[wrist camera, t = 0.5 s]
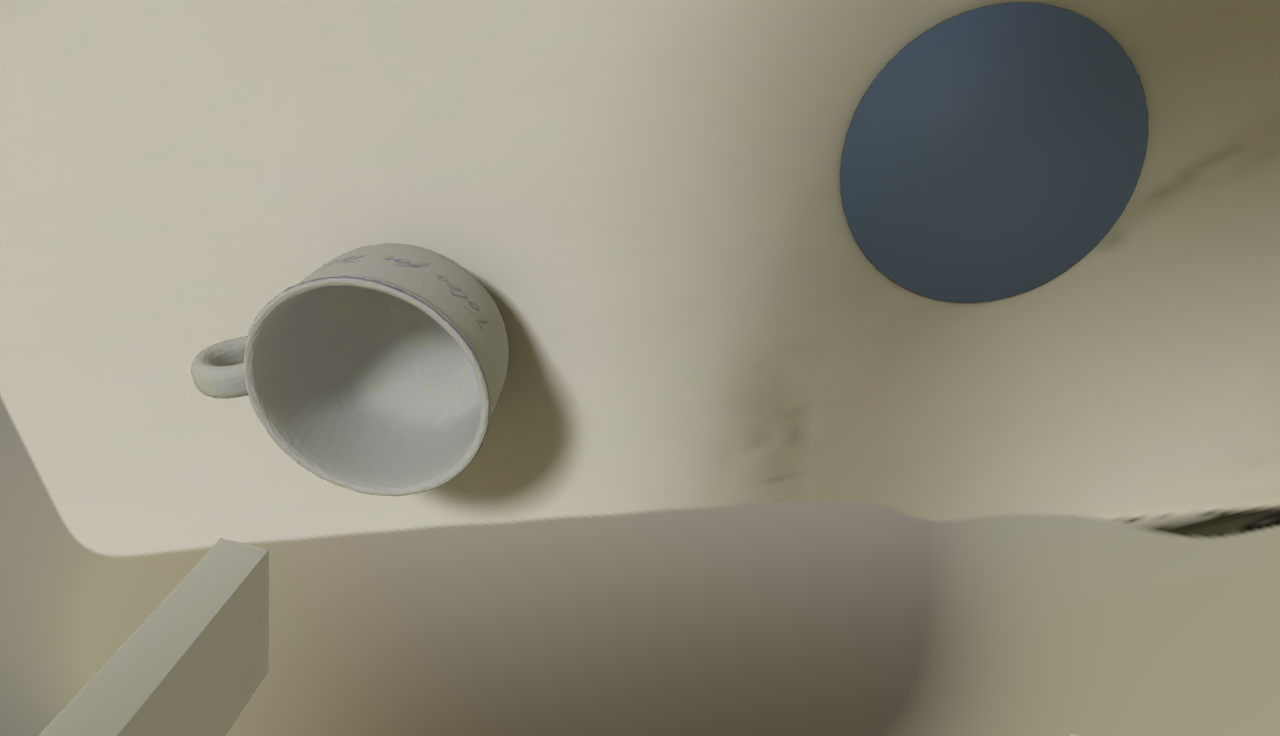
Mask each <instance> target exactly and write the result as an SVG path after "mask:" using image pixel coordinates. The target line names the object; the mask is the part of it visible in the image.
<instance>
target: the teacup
mask: <svg viewBox="0 0 1280 736" xmlns="http://www.w3.org/2000/svg"><path fill="white" fill-rule="evenodd" d="M508 359H509V347H508V338H507V332H506V328H505V325H504V322H503V319H502V317H501V314H500V312H499V310H498V308H497V305H496V304H495V302H494V300H493V299H492V298H491V296H490V295H489V293H488V292H487V291H486V289H485V288H484V287H483V286H482V285H481V283H480V282H479V281H478V280H477V279H476V278H475V277H474V276H473V275H472V274H471V273H469V272H468V271H467V270H466V269H464V268H463V267H461V266H460V265H458V264H457V263H455V262H454V261H452V260H451V259H449V258H447V257H445V256H443V255H441V254H438V253H436V252H433V251H431V250H428V249H425V248H421V247H417V246H412V245H405V244H377V245H370V246H365V247H361V248H358V249H355V250H352V251H349V252H347V253H345V254H342V255H340V256H339V257H337V258H335V259H333V260H331V261H329V262H328V263H326V264H325V265H323V266H322V267H320V268H319V269H317V270H316V271H314V272H313V273H312V274H310V275H309V276H308V277H306V278H305V279H304V280H302V281H301V282H300V283H298V284H297V285H295V286H292V287H290V288H287V289H286V290H285V291H283V292H282V293H281V294H279V295H278V296H277V297H275V298H274V299H273V300H271V301H270V302H269V303H268V304H267V305H266V306H265V307H264V308H263V309H262V310H261V311H260V313H259V314H258V316H257V317H256V318H255V320H254V323H253V324H252V326H251V327H250V330H249V333H248V336H246V337H240V338H235V339H231V340H226V341H223V342H220V343H218V344H215V345H212V346H210V347H208V348H206V349H205V350H203V351H201V352H200V353H199V354H198V355H197V356H196V357H195V359H194V360H193V362H192V366H191V374H192V377H193V380H194V383H195V385H196V387H197V388H198V390H199V391H200V392H202V393H203V394H205V395H207V396H210V397H214V398H235V397H242V396H246V395H249V398H250V401H251V404H252V406H253V408H254V410H255V412H256V414H257V416H258V418H259V419H260V421H261V423H262V424H263V425H264V426H265V428H266V430H267V432H268V433H269V435H270V436H271V437H272V439H273V440H274V441H275V442H276V444H277V445H278V446H279V447H280V448H281V449H282V450H283V451H284V452H285V453H286V454H287V455H288V456H290V457H291V458H292V459H293V460H295V461H296V462H297V463H298V464H300V465H301V466H303V467H304V468H305V469H307V470H309V471H310V472H312V473H314V474H315V475H317V476H318V477H320V478H322V479H325V480H327V481H329V482H331V483H333V484H336V485H338V486H341V487H344V488H347V489H351V490H354V491H357V492H360V493H365V494H371V495H382V496H403V495H410V494H417V493H421V492H425V491H427V490H430V489H433V488H436V487H438V486H441V485H442V484H444V483H446V482H448V481H450V480H451V479H453V478H454V477H455V476H457V475H458V474H460V473H461V472H462V471H463V470H464V469H465V468H466V467H467V466H468V465H469V464H470V463H471V461H472V460H473V459H474V457H475V456H476V454H477V452H478V451H479V449H480V447H481V446H482V443H483V440H484V438H485V435H486V432H487V430H488V425H489V421H490V418H491V416H492V414H493V412H494V409H495V407H496V404H497V402H498V399H499V397H500V394H501V392H502V389H503V386H504V382H505V379H506V374H507V369H508Z"/></svg>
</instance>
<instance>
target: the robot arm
mask: <svg viewBox="0 0 1280 736" xmlns="http://www.w3.org/2000/svg"><path fill="white" fill-rule="evenodd" d="M268 613H269V549H265V548H260V547H256V546H252V545H248V544H243V543H239V542H234V541H230V540H226V539H221V538H220V539H219V540H218V542H217V543H216V544H215V545H214V546H213V547H212V548H211V549H210V550H209V551H208V552H207V553H206V555H205V556H204V557H203V558H202V559H201V560H200V561H199V562H198V563H197V565H195V567H194V568H193V569H192V570H191V571H190V572H189V573H188V574H187V575H186V576H185V577H184V578H183V580H182V581H181V582H180V583H179V584H178V585H177V586H176V587H175V588H174V589H173V591H171V593H170V594H169V595H168V596H167V597H166V598H165V599H164V600H163V601H162V602H161V603H160V604H159V606H158V607H157V608H156V609H155V610H154V611H153V612H152V613H151V614H150V616H148V617H147V619H146V620H145V621H144V622H143V623H142V624H141V625H140V626H139V627H138V629H136V631H135V632H134V633H133V634H132V635H131V636H130V637H129V638H128V639H127V640H126V641H125V643H124V644H123V645H122V646H121V647H120V648H119V649H118V650H117V651H116V652H115V653H114V655H112V657H111V658H110V659H109V660H108V661H107V662H106V663H105V664H104V665H103V666H102V667H101V668H100V670H99V671H98V672H97V673H96V674H95V675H94V676H93V677H92V678H91V679H90V680H89V681H88V683H87V684H86V685H85V686H84V687H83V688H82V689H81V690H80V691H79V692H78V694H77V695H76V696H75V697H74V698H73V699H72V700H71V701H70V702H69V703H68V704H67V706H65V708H64V709H63V710H62V711H61V712H60V713H59V714H58V715H57V716H56V717H55V718H54V719H53V721H52V722H51V723H50V724H49V725H48V726H47V727H46V728H45V729H44V730H43V731H42V733H41V734H40V735H39V736H226V734H227V733H228V732H229V730H230V729H231V727H232V726H233V724H234V723H235V721H236V719H237V718H238V717H239V715H240V713H241V712H242V711H243V709H244V708H245V706H246V705H247V703H248V702H249V700H250V698H251V697H252V695H253V694H254V692H255V691H256V689H257V688H258V686H259V685H260V683H261V682H262V680H263V679H264V677H265V676H266V674H267V673H268V647H269V646H268V645H269V644H268V643H269V626H268V625H269V624H268V623H269V614H268ZM1069 736H1080V735H1075V734H1071V733H1070V735H1069Z"/></svg>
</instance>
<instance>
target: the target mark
mask: <svg viewBox="0 0 1280 736" xmlns="http://www.w3.org/2000/svg"><path fill="white" fill-rule="evenodd" d="M1147 139H1148V112H1147V106H1146V99H1145V94H1144V91H1143V88H1142V84H1141V81H1140V78H1139V76H1138V74H1137V72H1136V70H1135V68H1134V66H1133V64H1132V62H1131V60H1130V58H1129V57H1128V56H1127V54H1126V53H1125V51H1124V50H1123V49H1122V47H1121V46H1120V45H1119V44H1118V43H1117V42H1116V41H1115V40H1114V39H1113V38H1112V37H1111V36H1110V35H1109V34H1108V33H1107V32H1106V31H1105V30H1104V29H1102V28H1101V27H1099V26H1098V25H1096V24H1095V23H1094V22H1092V21H1091V20H1089V19H1087V18H1085V17H1083V16H1081V15H1079V14H1076V13H1074V12H1072V11H1070V10H1066V9H1063V8H1059V7H1056V6H1052V5H1046V4H1038V3H1004V4H997V5H991V6H985V7H981V8H978V9H974V10H971V11H967V12H964V13H962V14H959V15H957V16H955V17H952V18H950V19H948V20H945V21H943V22H941V23H940V24H938V25H936V26H935V27H933V28H931V29H929V30H928V31H926V32H924V33H923V34H921V35H920V36H919V37H917V38H916V39H915V40H913V41H912V42H911V43H909V44H908V45H907V46H905V47H904V48H903V49H902V50H901V51H900V52H899V53H898V54H897V55H896V56H895V57H894V58H893V59H892V60H891V61H890V62H889V63H888V64H887V65H886V66H885V67H884V69H883V70H882V71H881V72H880V73H879V75H878V76H877V77H876V78H875V80H874V81H873V83H872V84H871V86H870V87H869V89H868V90H867V92H866V93H865V95H864V96H863V98H862V100H861V102H860V104H859V106H858V108H857V110H856V112H855V114H854V116H853V118H852V121H851V124H850V127H849V130H848V132H847V135H846V139H845V144H844V148H843V152H842V160H841V170H840V186H841V197H842V203H843V209H844V212H845V216H846V219H847V222H848V225H849V228H850V230H851V232H852V234H853V236H854V238H855V240H856V242H857V244H858V245H859V246H860V248H861V249H862V251H863V252H864V254H865V255H866V257H867V258H868V259H869V260H870V261H871V262H872V263H873V264H874V266H875V267H876V268H877V269H878V270H879V271H881V272H882V273H883V274H884V275H886V276H887V277H888V278H889V279H891V280H892V281H894V282H895V283H897V284H899V285H900V286H902V287H904V288H905V289H908V290H910V291H912V292H915V293H917V294H919V295H922V296H926V297H929V298H933V299H937V300H943V301H950V302H967V303H975V302H985V301H993V300H998V299H1002V298H1007V297H1011V296H1014V295H1017V294H1020V293H1023V292H1026V291H1029V290H1031V289H1034V288H1036V287H1038V286H1040V285H1042V284H1044V283H1047V282H1048V281H1050V280H1052V279H1053V278H1055V277H1057V276H1058V275H1060V274H1062V273H1064V272H1065V271H1066V270H1068V269H1069V268H1070V267H1072V266H1073V265H1074V264H1076V263H1077V262H1079V261H1080V260H1081V259H1082V258H1083V257H1084V256H1086V255H1087V254H1088V253H1089V252H1090V251H1091V250H1092V249H1093V248H1094V247H1095V246H1096V245H1097V244H1098V243H1099V242H1100V241H1101V240H1102V239H1103V237H1104V236H1105V235H1106V234H1107V233H1108V232H1109V231H1110V229H1111V228H1112V226H1113V225H1114V224H1115V222H1116V221H1117V219H1118V218H1119V217H1120V215H1121V214H1122V212H1123V210H1124V208H1125V207H1126V205H1127V203H1128V201H1129V199H1130V197H1131V196H1132V194H1133V191H1134V189H1135V186H1136V184H1137V181H1138V179H1139V176H1140V173H1141V170H1142V166H1143V162H1144V158H1145V154H1146V147H1147Z"/></svg>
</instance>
